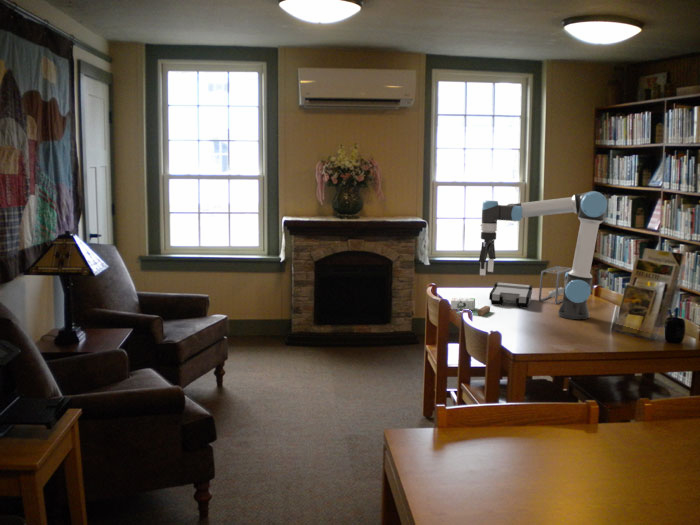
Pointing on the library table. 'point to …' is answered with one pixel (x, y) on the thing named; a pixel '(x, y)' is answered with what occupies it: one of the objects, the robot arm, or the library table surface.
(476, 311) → the felt mat
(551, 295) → the newton's cradle
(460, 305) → the ink box
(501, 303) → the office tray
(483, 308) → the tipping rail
